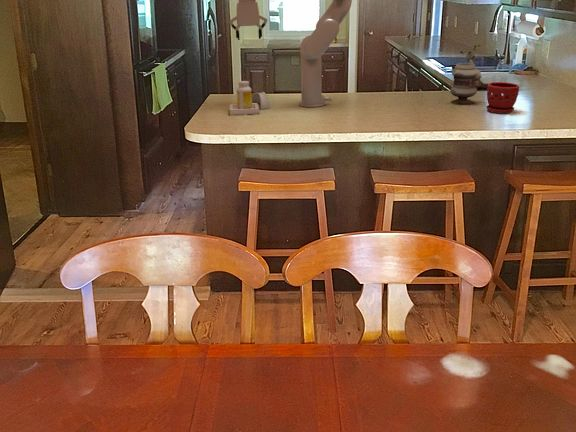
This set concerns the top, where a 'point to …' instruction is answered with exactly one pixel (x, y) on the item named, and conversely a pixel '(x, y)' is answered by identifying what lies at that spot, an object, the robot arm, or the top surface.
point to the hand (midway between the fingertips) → (249, 39)
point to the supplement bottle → (244, 95)
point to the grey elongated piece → (261, 100)
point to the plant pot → (501, 97)
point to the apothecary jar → (464, 83)
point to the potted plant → (477, 78)
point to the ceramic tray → (243, 110)
